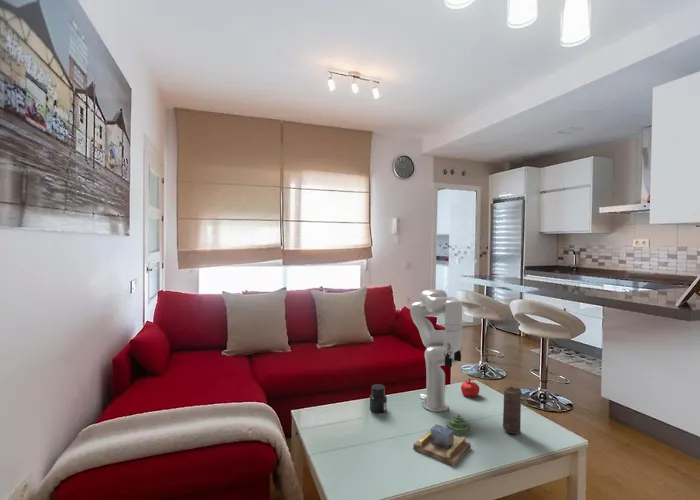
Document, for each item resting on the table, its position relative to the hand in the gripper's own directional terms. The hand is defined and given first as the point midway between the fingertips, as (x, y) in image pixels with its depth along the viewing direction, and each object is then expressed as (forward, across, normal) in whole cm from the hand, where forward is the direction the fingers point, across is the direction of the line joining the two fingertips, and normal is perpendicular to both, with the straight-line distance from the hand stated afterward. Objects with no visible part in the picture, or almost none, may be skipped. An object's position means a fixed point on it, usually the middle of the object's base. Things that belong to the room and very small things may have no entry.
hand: (453, 363), depth 168 cm
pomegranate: (+31, -40, -8) cm, 51 cm away
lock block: (+28, +19, +4) cm, 34 cm away
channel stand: (+30, +19, +4) cm, 36 cm away
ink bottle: (+31, +8, -37) cm, 48 cm away
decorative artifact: (+31, 0, +3) cm, 31 cm away
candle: (+30, -14, +22) cm, 40 cm away
